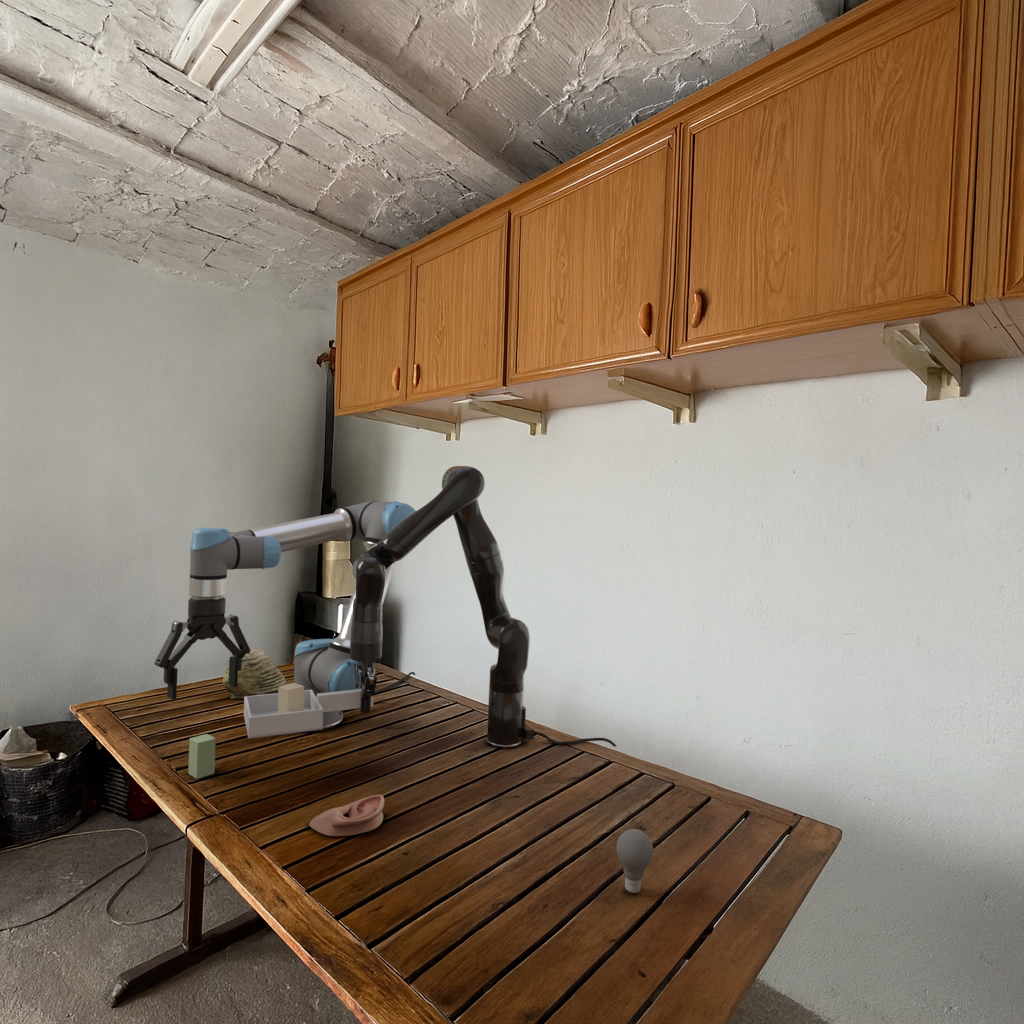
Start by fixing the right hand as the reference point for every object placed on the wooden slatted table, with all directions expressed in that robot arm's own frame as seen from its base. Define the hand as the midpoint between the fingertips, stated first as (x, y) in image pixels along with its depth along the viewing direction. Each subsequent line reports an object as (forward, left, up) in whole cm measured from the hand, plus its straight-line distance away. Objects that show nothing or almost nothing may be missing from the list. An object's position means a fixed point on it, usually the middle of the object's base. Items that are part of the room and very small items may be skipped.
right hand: (364, 710), depth 152 cm
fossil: (+19, -61, -12) cm, 65 cm away
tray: (+12, 0, -1) cm, 12 cm away
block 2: (+17, +1, 0) cm, 17 cm away
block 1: (+35, -6, -12) cm, 37 cm away
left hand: (+35, -6, +6) cm, 36 cm away
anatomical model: (+10, +27, -12) cm, 32 cm away
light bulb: (-29, +67, -12) cm, 74 cm away
